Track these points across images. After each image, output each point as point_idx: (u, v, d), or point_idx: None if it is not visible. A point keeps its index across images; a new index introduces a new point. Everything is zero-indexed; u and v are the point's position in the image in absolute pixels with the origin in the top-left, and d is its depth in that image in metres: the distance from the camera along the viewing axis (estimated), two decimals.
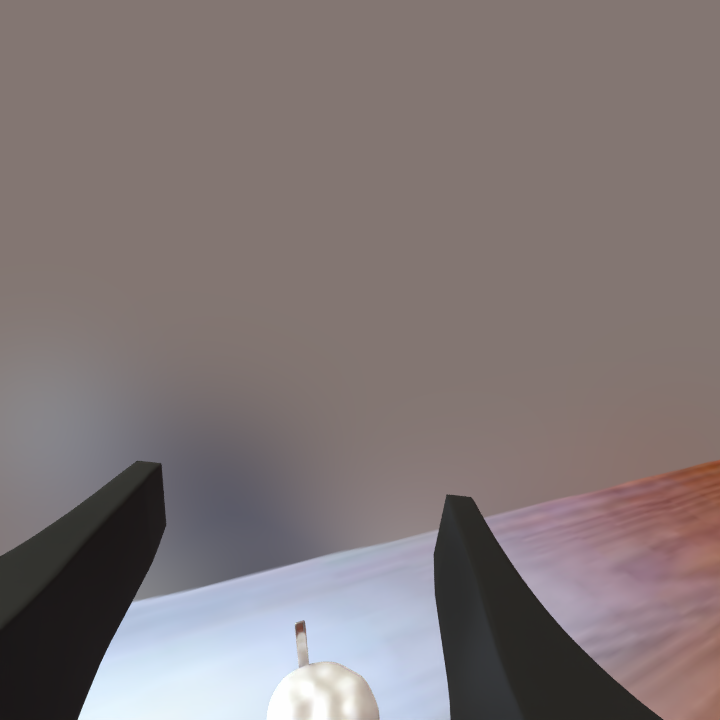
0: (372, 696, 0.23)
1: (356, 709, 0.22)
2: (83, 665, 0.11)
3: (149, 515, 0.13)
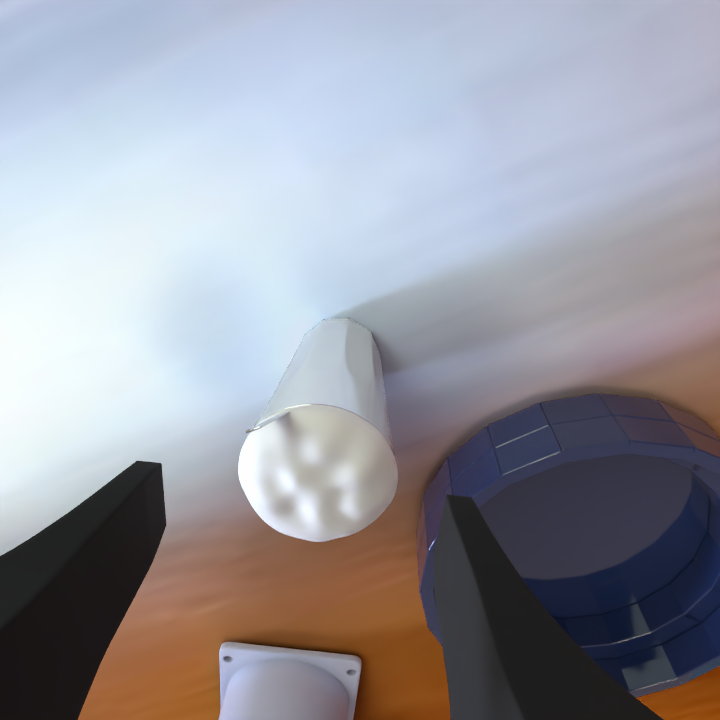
0: (388, 470, 0.15)
1: (360, 510, 0.15)
2: (83, 665, 0.11)
3: (149, 515, 0.13)
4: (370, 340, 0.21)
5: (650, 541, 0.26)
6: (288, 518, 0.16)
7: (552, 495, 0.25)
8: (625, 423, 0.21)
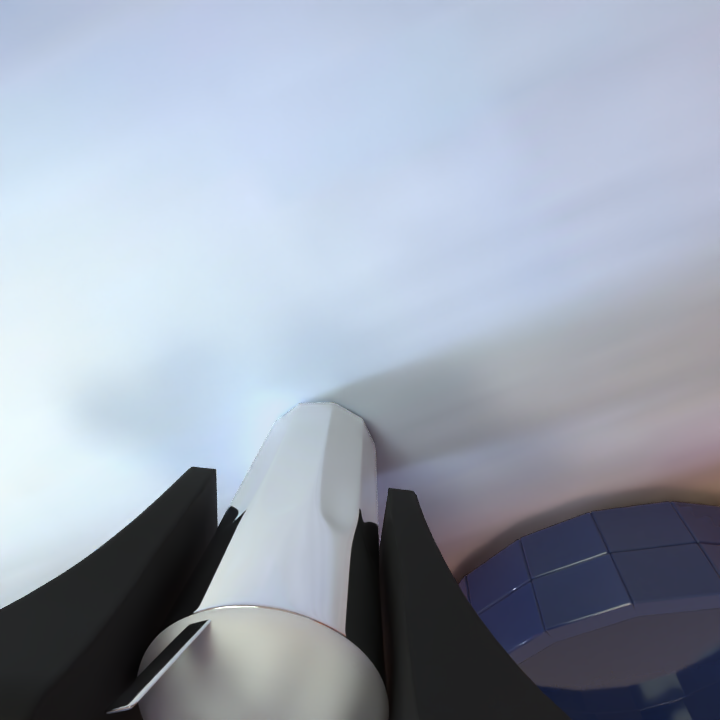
0: (372, 714, 0.09)
1: None
2: None
3: (205, 521, 0.13)
4: (361, 438, 0.16)
5: None
6: None
7: None
8: (717, 557, 0.15)
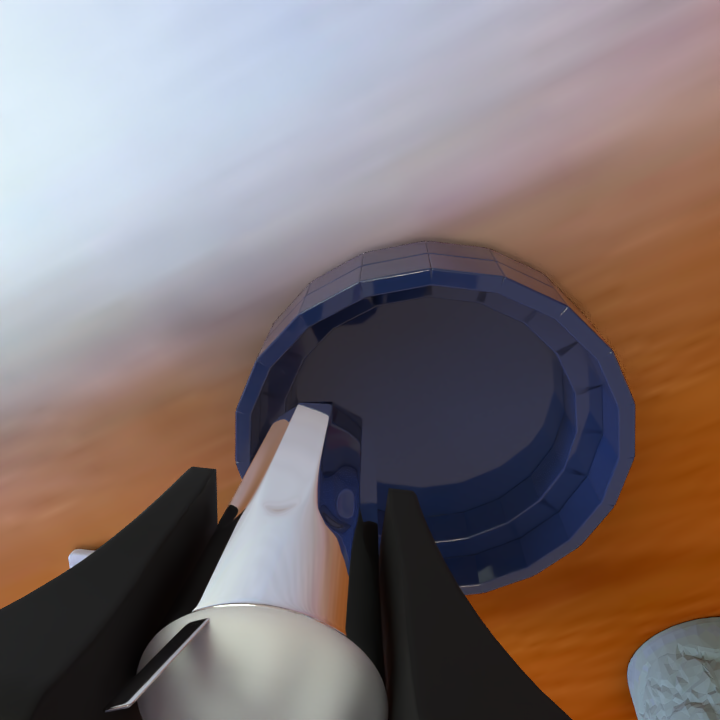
0: (371, 713, 0.09)
1: None
2: None
3: (205, 521, 0.13)
4: (361, 437, 0.16)
5: (505, 423, 0.24)
6: None
7: (393, 367, 0.23)
8: (437, 258, 0.19)
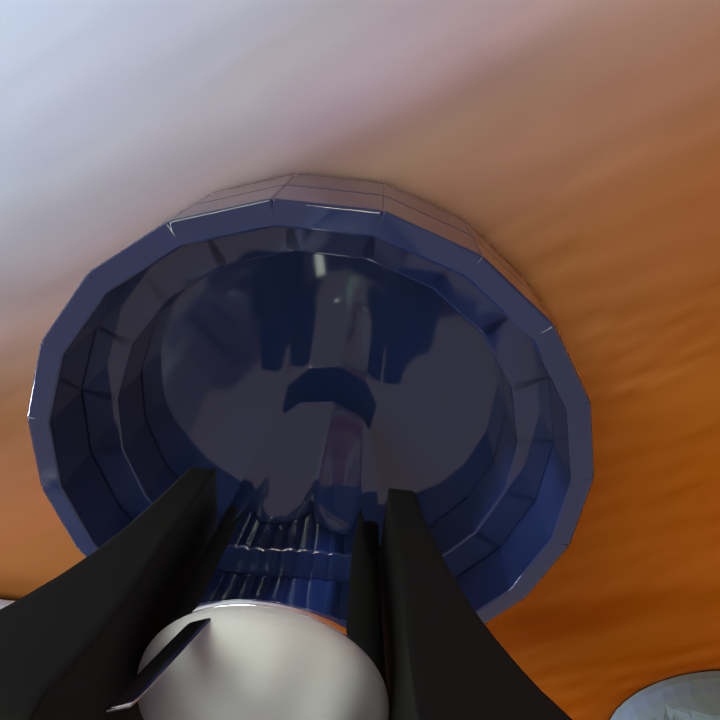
0: (372, 713, 0.09)
1: None
2: None
3: (205, 521, 0.13)
4: (361, 437, 0.16)
5: (428, 430, 0.18)
6: None
7: (272, 356, 0.17)
8: (293, 190, 0.13)
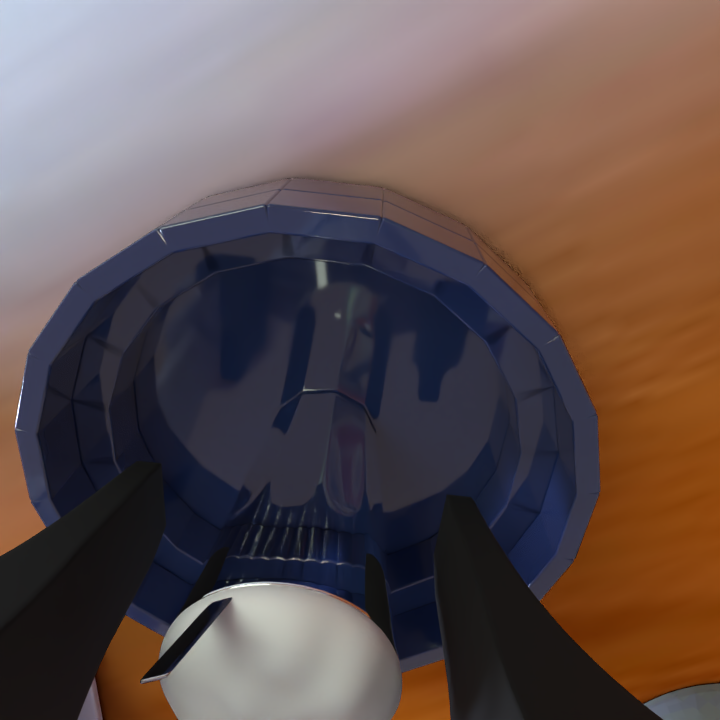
0: (387, 684, 0.10)
1: None
2: (83, 665, 0.11)
3: (149, 515, 0.13)
4: (364, 427, 0.16)
5: (429, 440, 0.18)
6: None
7: (268, 364, 0.17)
8: (289, 195, 0.12)
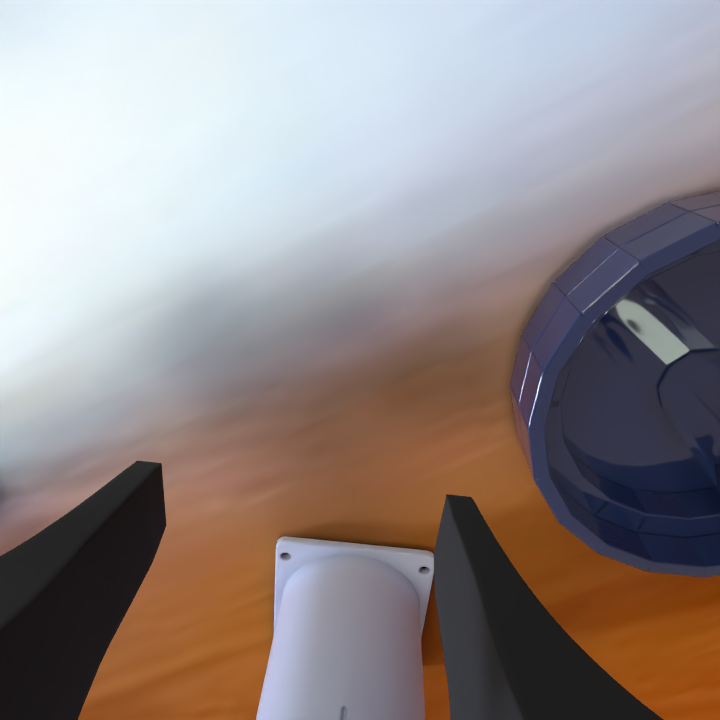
0: None
1: None
2: (83, 665, 0.11)
3: (149, 515, 0.13)
4: None
5: None
6: None
7: (671, 329, 0.22)
8: None
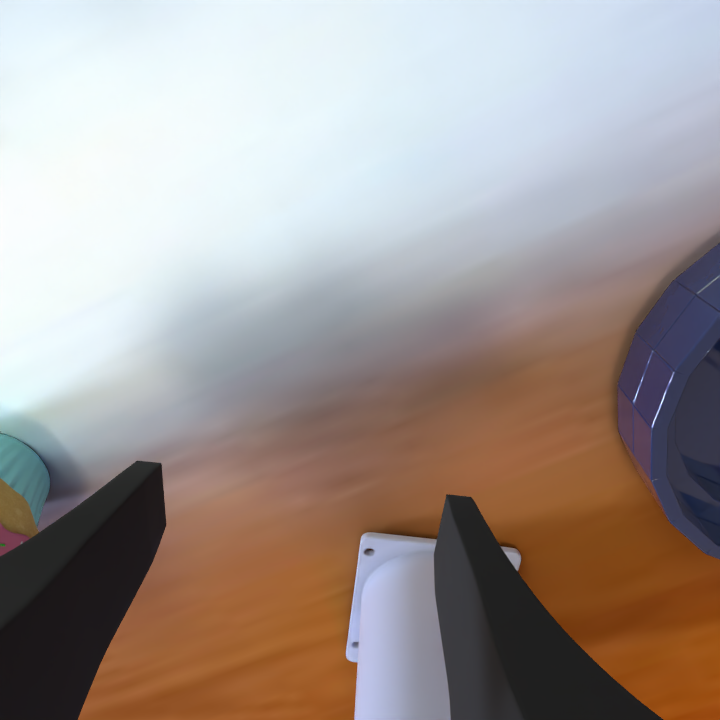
0: None
1: None
2: (83, 665, 0.11)
3: (149, 515, 0.13)
4: None
5: None
6: None
7: None
8: None
